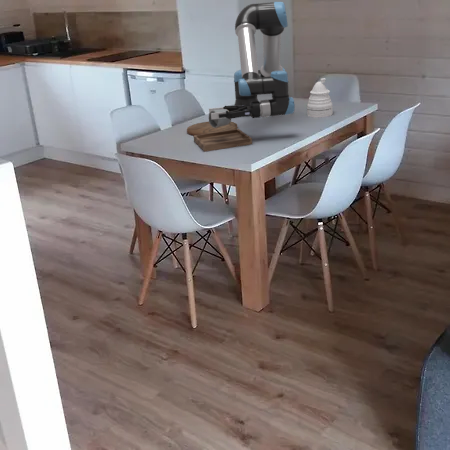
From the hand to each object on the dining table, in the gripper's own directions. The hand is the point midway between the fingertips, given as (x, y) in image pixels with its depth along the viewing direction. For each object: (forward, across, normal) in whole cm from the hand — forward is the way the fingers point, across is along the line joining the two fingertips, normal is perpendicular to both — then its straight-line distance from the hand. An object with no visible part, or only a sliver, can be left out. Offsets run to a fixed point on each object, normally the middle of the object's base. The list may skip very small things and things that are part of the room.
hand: (210, 114), depth 281 cm
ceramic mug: (-3, +1, -6) cm, 7 cm away
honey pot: (-58, +35, -14) cm, 69 cm away
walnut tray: (-4, 0, -14) cm, 14 cm away
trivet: (-2, +26, -14) cm, 30 cm away
